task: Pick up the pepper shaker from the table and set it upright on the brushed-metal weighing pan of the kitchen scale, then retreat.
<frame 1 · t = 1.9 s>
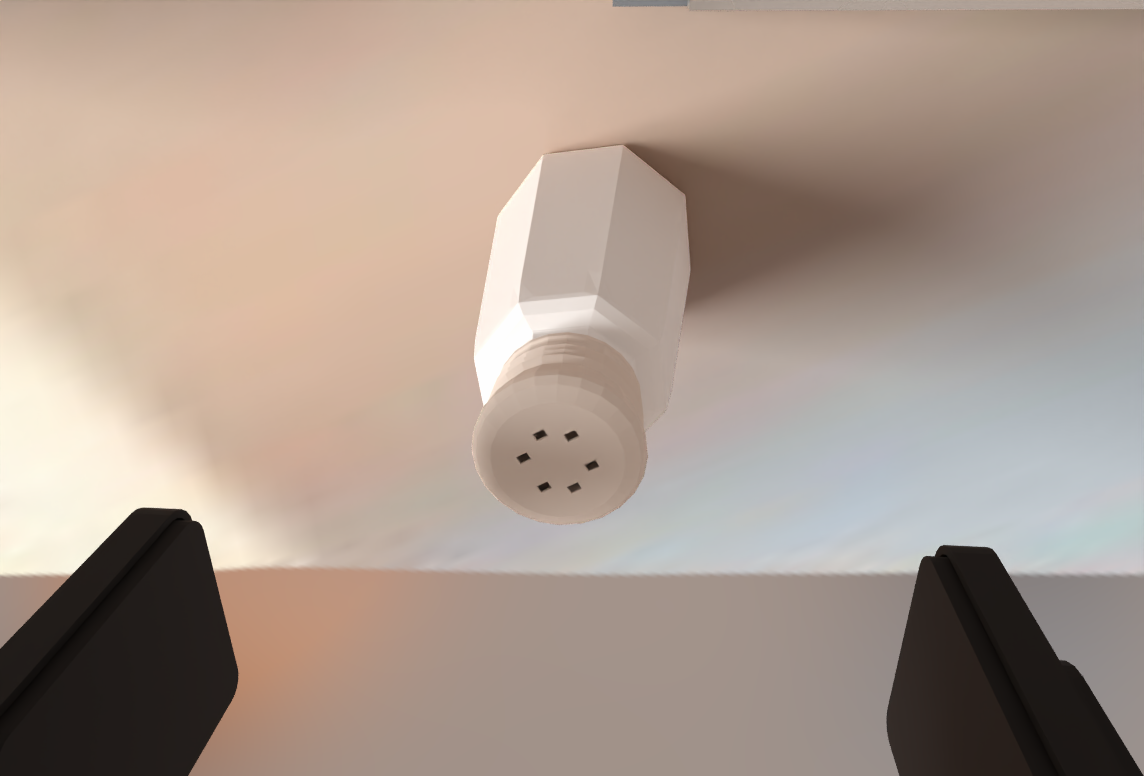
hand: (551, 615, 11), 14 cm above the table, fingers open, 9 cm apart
pepper shaker: (595, 238, 23), on the table
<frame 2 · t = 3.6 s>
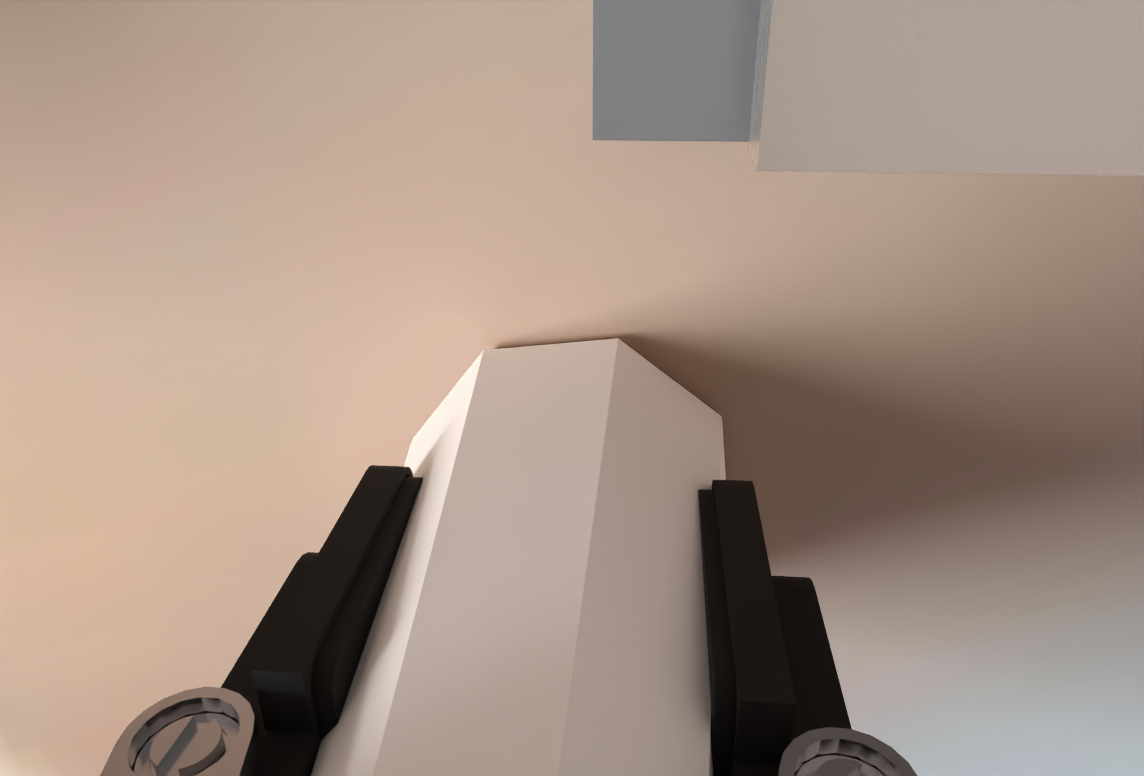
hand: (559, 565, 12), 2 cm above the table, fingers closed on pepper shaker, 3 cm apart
pepper shaker: (573, 471, 14), on the table, touching gripper
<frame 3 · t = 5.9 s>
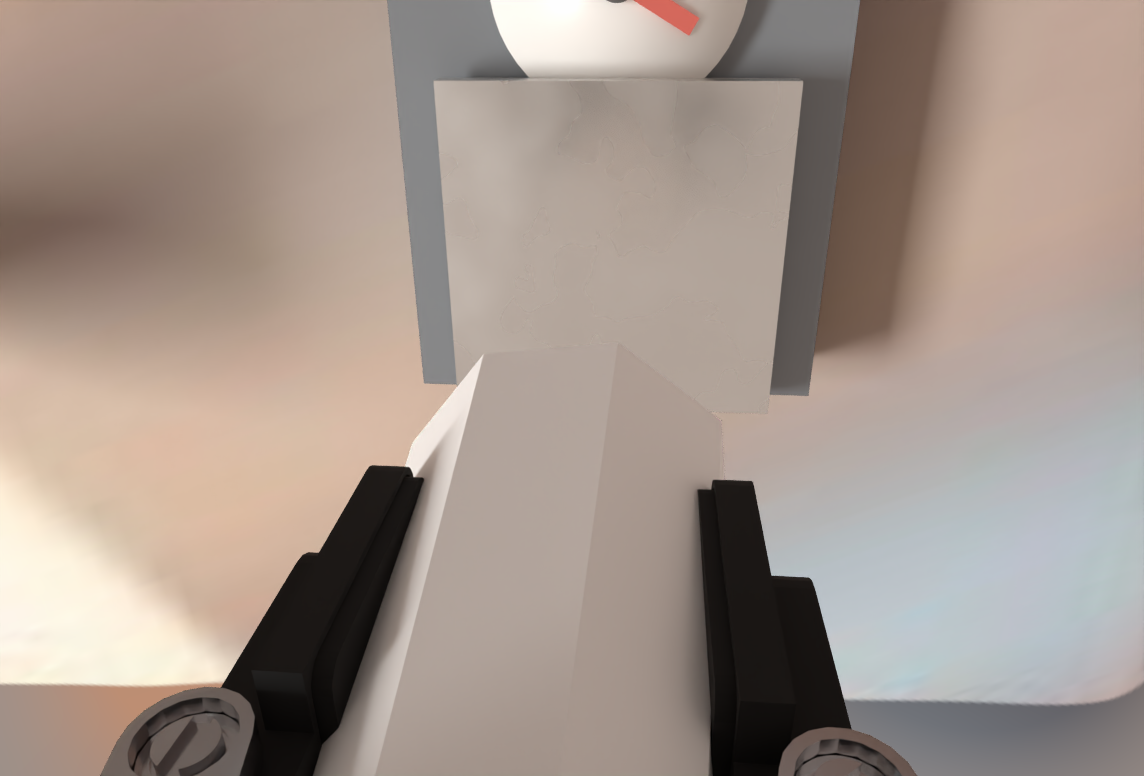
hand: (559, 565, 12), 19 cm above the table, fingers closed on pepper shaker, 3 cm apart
scale base: (619, 130, 27), on the table
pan: (613, 255, 25), point 4 cm above the table, slide at 0.0 cm, touching scale base
pepper shaker: (573, 474, 14), point 16 cm above the table, touching gripper
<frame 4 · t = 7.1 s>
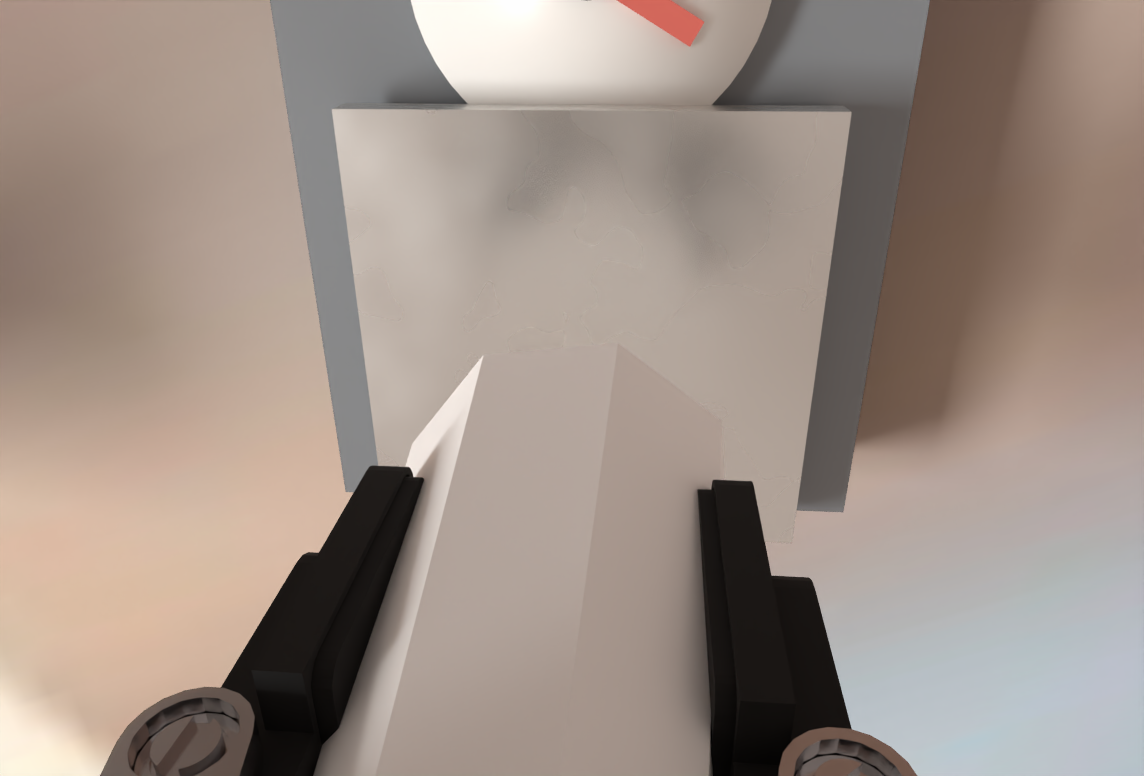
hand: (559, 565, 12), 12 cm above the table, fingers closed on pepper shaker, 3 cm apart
scale base: (597, 167, 21), on the table
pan: (586, 341, 19), point 4 cm above the table, slide at 0.0 cm, touching scale base
pepper shaker: (573, 475, 14), point 9 cm above the table, touching gripper
when the fingers open (8 cm above the table, at t = 8.1 s): pepper shaker drops 1 cm, resting on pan.
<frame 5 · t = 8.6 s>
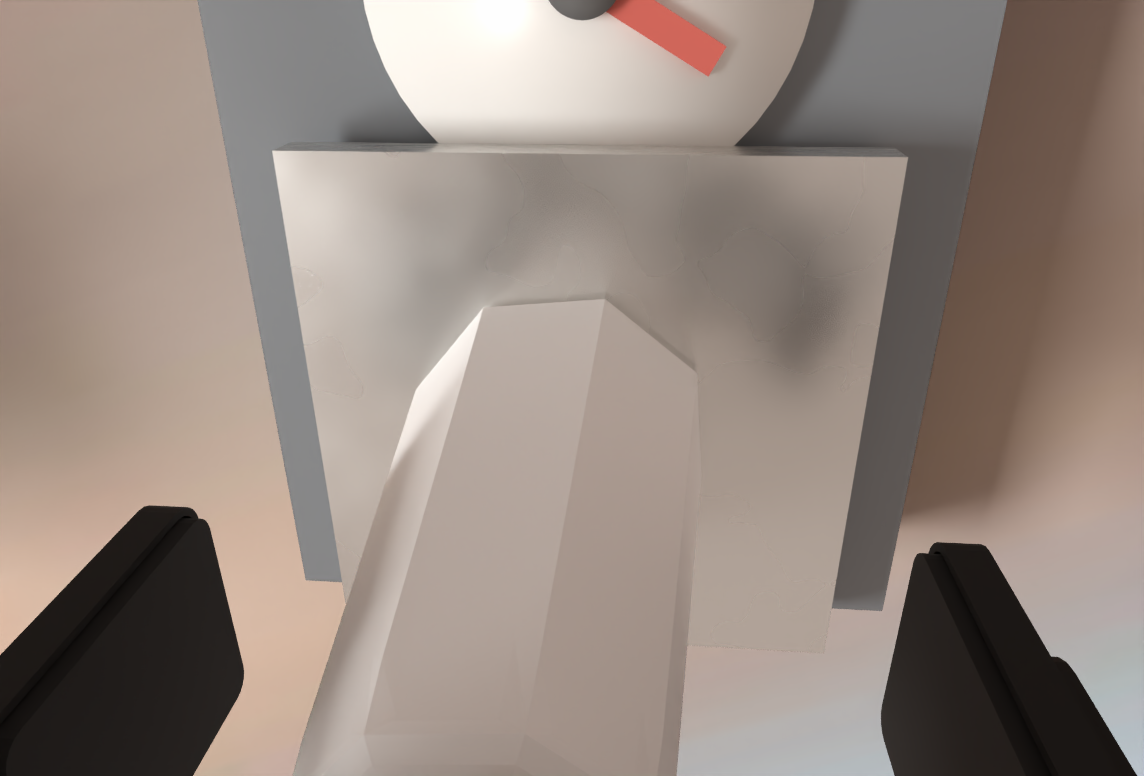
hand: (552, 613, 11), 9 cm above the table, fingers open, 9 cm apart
scale base: (596, 209, 18), on the table
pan: (582, 421, 16), point 4 cm above the table, slide at 0.0 cm, touching pepper shaker, scale base
pepper shaker: (562, 423, 15), point 4 cm above the table, touching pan
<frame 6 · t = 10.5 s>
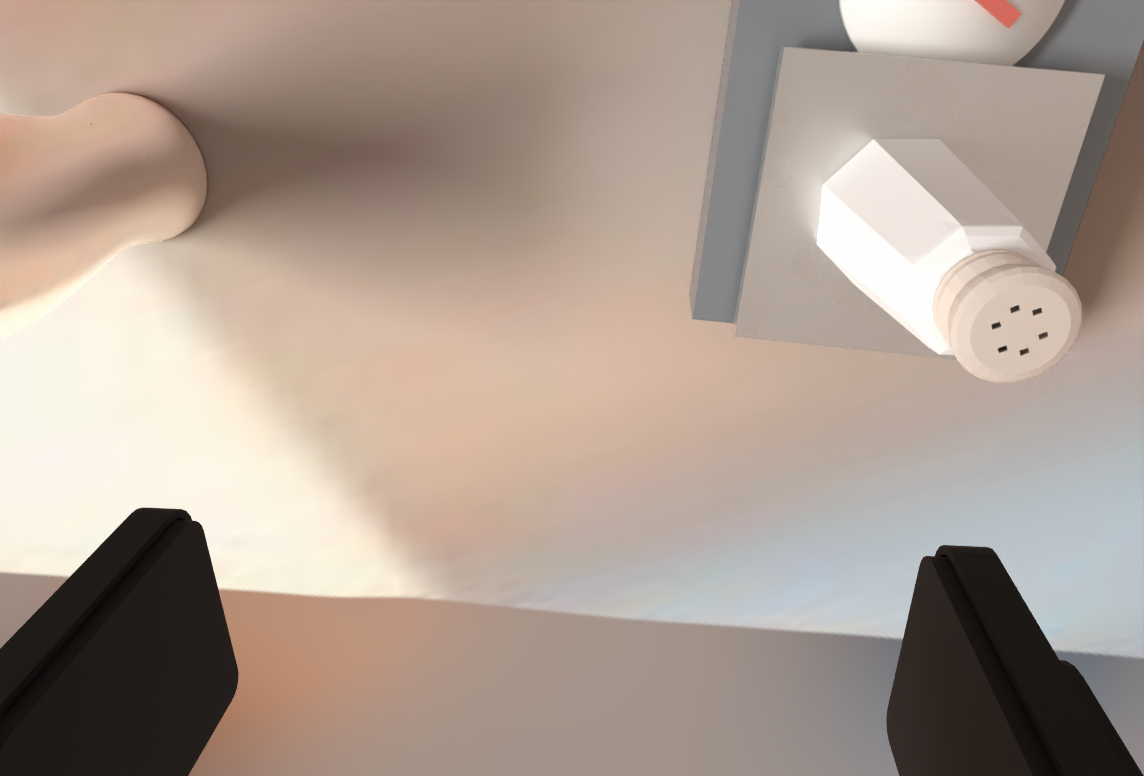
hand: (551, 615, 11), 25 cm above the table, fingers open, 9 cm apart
scale base: (892, 109, 31), on the table
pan: (901, 213, 29), point 4 cm above the table, slide at 0.0 cm, touching pepper shaker, scale base
beer glass: (140, 167, 35), on the table
pepper shaker: (892, 212, 29), point 4 cm above the table, touching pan
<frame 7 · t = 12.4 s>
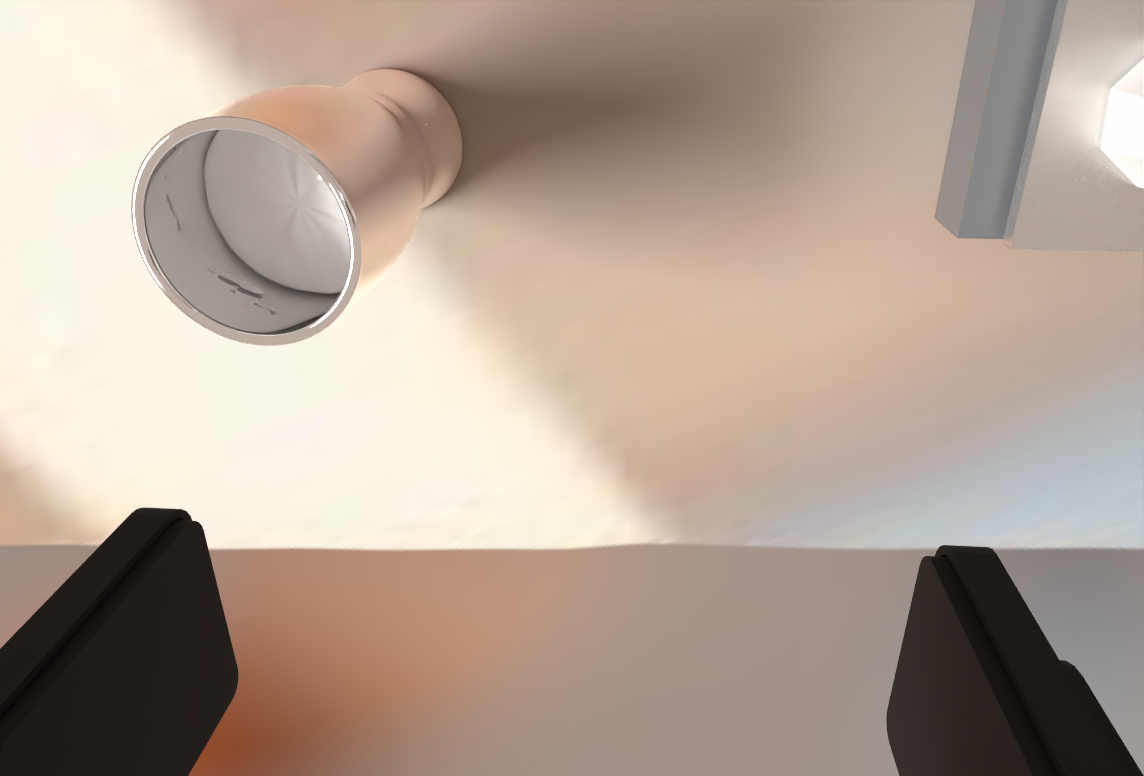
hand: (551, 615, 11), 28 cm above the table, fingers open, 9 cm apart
beer glass: (396, 141, 37), on the table
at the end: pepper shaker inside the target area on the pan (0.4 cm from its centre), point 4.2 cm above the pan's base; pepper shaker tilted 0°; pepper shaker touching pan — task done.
